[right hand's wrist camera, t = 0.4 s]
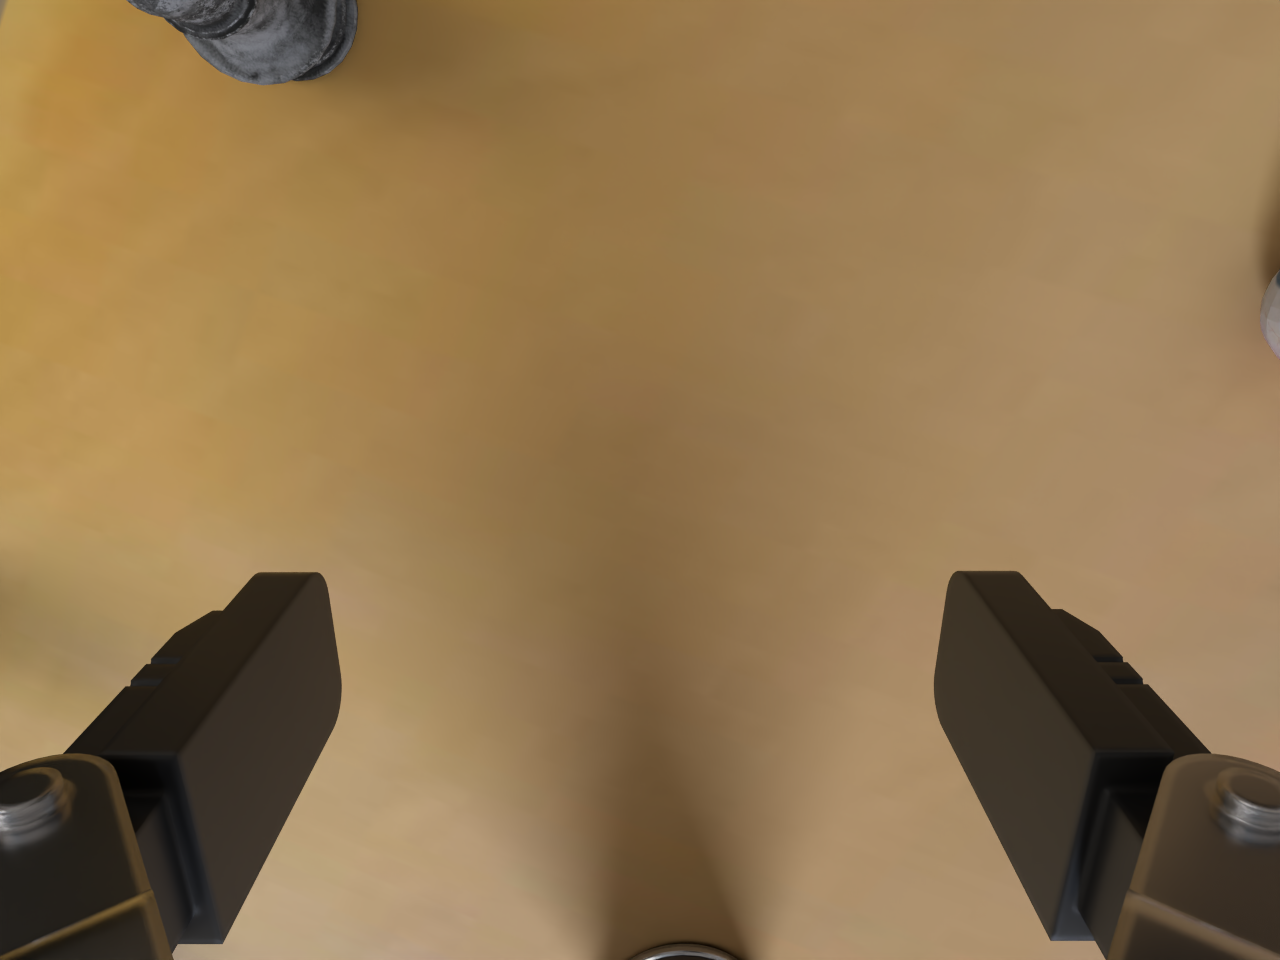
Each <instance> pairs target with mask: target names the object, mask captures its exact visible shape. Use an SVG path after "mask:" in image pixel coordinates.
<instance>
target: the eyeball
mask: <svg viewBox="0 0 1280 960" xmlns="http://www.w3.org/2000/svg"><path fill="white" fill-rule="evenodd" d="M1260 323H1261V330H1262V333H1263V336H1264V338H1265V340H1266V341H1267V343H1268V344H1269V346H1270V347H1271V349H1272V350H1273V352H1274V353H1275V355H1276V356H1277V357H1278V358H1279V359H1280V269H1279V271H1278V272H1277V273H1276V275H1275V276H1274V277H1273V278H1272V280H1271V282H1270V284H1269V286H1268V288H1267V290H1266V292H1265V294H1264V296H1263V298H1262V303H1261V314H1260Z"/></svg>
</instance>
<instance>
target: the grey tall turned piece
mask: <svg viewBox="0 0 1280 960" xmlns="http://www.w3.org/2000/svg"><path fill="white" fill-rule="evenodd" d="M127 1H128V2H129V3H131V4H132V5H133V6H135V7H136V8H137V9H140V10H142V11H144V12H146V13H148V14H151V15H155V16H159V17H164V19H165V20H166V21H167V22H169V23H170V24H171V25H172V26H174V27H175V28H176V29H177V30H179V31H180V32H182V33H184V35H185V37H186V38H187V40H188V41H189V42H190V43H191V45H192V46H193V47H194V48H195V50H196V51H197V52H198V53H199V54H200V56H201V57H202V58H204V59H205V60H206V61H207V62H209V63H210V64H211V65H212V66H214V67H215V68H216V69H218V70H219V71H220V72H222V73H224V74H226V75H229V76H231V77H233V78H235V79H237V80H239V81H242V82H248V83H253V84H259V85H270V84H280V83H285V82H288V81H290V80H294V81H302V80H311V79H316V78H318V77H320V76H323V75H325V74H327V73H329V72H331V71H332V70H333V69H334V68H335V67H336V66H338V65H339V64H340V63H341V62H342V61H343V59H344V58H345V56H346V55H347V53H348V51H349V50H350V48H351V47H352V44H353V40H354V37H355V34H356V30H357V16H358V7H357V2H356V0H127Z"/></svg>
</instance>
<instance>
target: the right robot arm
mask: <svg viewBox="0 0 1280 960" xmlns="http://www.w3.org/2000/svg"><path fill="white" fill-rule="evenodd" d="M341 690H342V684H341V673H340V666H339V659H338V653H337V646H336V639H335V633H334V626H333V619H332V613H331V606H330V599H329V593H328V588H327V584H326V582H325V579H324V577H323V576H322V575H321V574H320V573H318V572H260V573H257V574H255V575H254V576H253V577H252V578H251V579H250V580H249V581H248V583H247V584H246V585H245V586H244V587H243V588H242V589H241V591H240V592H239V593H238V594H237V595H236V596H235V597H234V599H233V600H232V601H231V602H230V603H229V604H228V606H227V607H226V608H225V609H224V610H223V611H211V612H210V613H208V614H206V615H205V616H203V617H201V618H200V619H198V620H196V621H194V622H193V623H191V624H189V625H188V626H186V627H184V628H183V629H181V630H179V631H178V632H176V633H175V634H174V635H173V636H172V637H171V638H170V639H169V640H168V641H167V642H166V643H165V645H164V646H163V647H162V648H161V649H160V650H159V651H158V652H157V653H156V654H155V655H154V656H153V657H152V659H151V664H146V665H145V666H144V667H143V668H142V669H141V670H140V671H139V673H138V674H137V675H136V676H135V677H134V678H133V679H132V680H131V685H130V686H126V687H125V688H124V689H123V690H122V691H121V692H120V693H119V694H118V695H117V696H116V697H115V698H114V699H113V701H112V702H111V703H110V704H109V705H108V706H107V707H106V708H105V709H104V710H103V711H102V712H101V713H100V715H99V716H98V717H97V718H96V719H95V720H94V721H93V722H92V723H91V724H90V725H89V726H88V727H87V729H86V730H85V731H84V732H83V733H82V734H81V735H80V736H79V737H78V738H77V739H76V740H75V741H74V743H73V744H72V745H71V746H70V747H69V748H68V749H67V750H66V751H65V752H64V753H63V754H60V755H52V756H48V757H43V758H38V759H35V760H31V761H28V762H25V763H22V764H19V765H16V766H14V767H11V768H9V769H6V770H4V771H2V772H0V960H173V956H172V953H173V951H174V949H175V948H176V946H177V944H223V942H224V940H225V938H226V936H227V934H228V932H229V931H230V929H231V927H232V925H233V923H234V921H235V919H236V917H237V915H238V913H239V911H240V909H241V907H242V905H243V903H244V901H245V899H246V897H247V896H248V894H249V892H250V890H251V888H252V886H253V884H254V882H255V880H256V878H257V876H258V874H259V872H260V870H261V868H262V866H263V864H264V862H265V861H266V859H267V857H268V855H269V853H270V851H271V849H272V847H273V845H274V843H275V841H276V839H277V837H278V835H279V833H280V831H281V829H282V827H283V826H284V824H285V822H286V820H287V818H288V816H289V814H290V812H291V810H292V808H293V806H294V804H295V802H296V800H297V798H298V796H299V794H300V792H301V791H302V789H303V787H304V785H305V783H306V781H307V779H308V777H309V775H310V773H311V771H312V769H313V767H314V765H315V763H316V761H317V759H318V758H319V756H320V754H321V752H322V750H323V748H324V746H325V744H326V742H327V740H328V738H329V736H330V734H331V732H332V730H333V728H334V726H335V724H336V721H337V717H338V714H339V709H340V703H341ZM934 697H935V705H936V710H937V714H938V718H939V721H940V723H941V726H942V728H943V730H944V732H945V734H946V736H947V738H948V740H949V742H950V744H951V746H952V747H953V749H954V751H955V753H956V755H957V757H958V759H959V761H960V763H961V765H962V767H963V769H964V771H965V773H966V775H967V777H968V779H969V781H970V783H971V785H972V787H973V789H974V791H975V793H976V795H977V797H978V799H979V801H980V803H981V805H982V807H983V808H984V810H985V812H986V814H987V816H988V818H989V820H990V822H991V824H992V826H993V828H994V830H995V832H996V834H997V836H998V838H999V840H1000V842H1001V844H1002V846H1003V848H1004V850H1005V852H1006V854H1007V856H1008V858H1009V860H1010V862H1011V864H1012V866H1013V868H1014V869H1015V871H1016V873H1017V875H1018V877H1019V879H1020V881H1021V883H1022V885H1023V887H1024V889H1025V891H1026V893H1027V895H1028V897H1029V899H1030V901H1031V903H1032V905H1033V907H1034V909H1035V911H1036V913H1037V915H1038V917H1039V919H1040V921H1041V923H1042V925H1043V927H1044V929H1045V930H1046V932H1047V934H1048V936H1049V938H1050V940H1051V941H1096V943H1097V945H1098V947H1099V948H1100V950H1101V952H1102V954H1103V955H1104V957H1105V959H1106V960H1280V772H1278V771H1276V770H1274V769H1271V768H1269V767H1266V766H1264V765H1261V764H1258V763H1255V762H1252V761H1249V760H1245V759H1242V758H1237V757H1232V756H1228V755H1220V754H1211V752H1210V751H1209V750H1208V749H1207V748H1206V747H1205V746H1204V745H1203V744H1202V743H1201V742H1200V740H1199V739H1198V738H1197V737H1196V736H1195V735H1194V734H1193V733H1192V732H1191V731H1190V730H1189V729H1188V727H1187V726H1186V725H1185V724H1184V723H1183V722H1182V721H1181V720H1180V719H1179V718H1178V717H1177V715H1176V714H1175V713H1174V712H1173V711H1172V710H1171V709H1170V708H1169V707H1168V706H1167V705H1166V704H1165V702H1164V701H1163V700H1162V699H1161V698H1160V697H1159V696H1158V695H1157V694H1156V693H1155V692H1154V690H1153V689H1152V688H1151V687H1150V686H1149V685H1148V684H1143V679H1142V677H1141V676H1140V675H1139V674H1138V673H1137V672H1136V671H1135V670H1134V669H1133V668H1132V667H1131V665H1130V664H1129V663H1128V662H1123V657H1122V656H1121V655H1120V654H1119V652H1118V651H1117V650H1116V649H1115V648H1114V647H1113V646H1112V645H1111V644H1110V643H1109V642H1108V641H1107V639H1106V638H1105V637H1104V636H1103V635H1102V634H1101V633H1100V632H1099V631H1098V630H1096V629H1094V628H1093V627H1091V626H1089V625H1088V624H1086V623H1084V622H1083V621H1081V620H1079V619H1078V618H1076V617H1074V616H1073V615H1071V614H1069V613H1068V612H1066V611H1064V610H1063V609H1051V608H1050V607H1049V606H1048V605H1047V604H1046V602H1045V601H1044V600H1043V599H1042V598H1041V597H1040V595H1039V594H1038V593H1037V592H1036V591H1035V590H1034V588H1033V587H1032V586H1031V585H1030V584H1029V583H1028V581H1027V580H1026V579H1025V578H1024V577H1023V576H1022V575H1021V574H1020V573H1019V572H1017V571H957V572H955V573H954V574H953V575H952V576H951V578H950V581H949V584H948V588H947V593H946V600H945V607H944V614H943V620H942V627H941V634H940V641H939V647H938V654H937V661H936V668H935V675H934ZM630 960H737V959H736V958H734V957H733V956H731V955H729V954H727V953H726V952H723V951H721V950H718V949H715V948H712V947H708V946H703V945H697V944H671V945H665V946H660V947H656V948H653V949H650V950H647V951H645V952H642V953H640V954H638V955H636V956H635V957H633V958H632V959H630Z"/></svg>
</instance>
